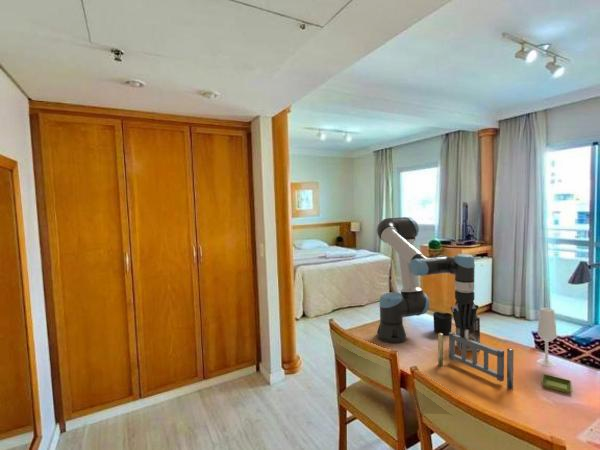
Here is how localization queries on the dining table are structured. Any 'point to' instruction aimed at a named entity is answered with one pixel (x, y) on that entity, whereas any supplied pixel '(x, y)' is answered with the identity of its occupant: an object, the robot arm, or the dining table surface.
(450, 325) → the pen holder
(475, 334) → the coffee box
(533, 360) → the dining table surface
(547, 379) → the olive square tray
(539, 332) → the champagne flute
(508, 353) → the hinge post
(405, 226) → the robot arm
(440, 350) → the post
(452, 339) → the gate
